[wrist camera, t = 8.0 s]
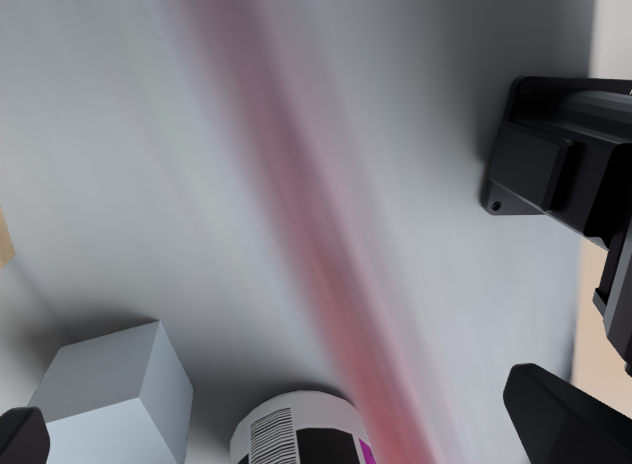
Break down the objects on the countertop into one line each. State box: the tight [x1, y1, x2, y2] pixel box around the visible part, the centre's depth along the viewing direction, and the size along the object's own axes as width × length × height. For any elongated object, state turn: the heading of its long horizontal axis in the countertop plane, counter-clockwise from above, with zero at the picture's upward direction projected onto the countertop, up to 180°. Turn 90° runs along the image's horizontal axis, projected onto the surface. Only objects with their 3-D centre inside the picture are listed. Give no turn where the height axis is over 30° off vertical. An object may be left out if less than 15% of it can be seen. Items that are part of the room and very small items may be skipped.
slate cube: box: [27, 320, 194, 464], centre depth 20 cm, size 5×5×5 cm
